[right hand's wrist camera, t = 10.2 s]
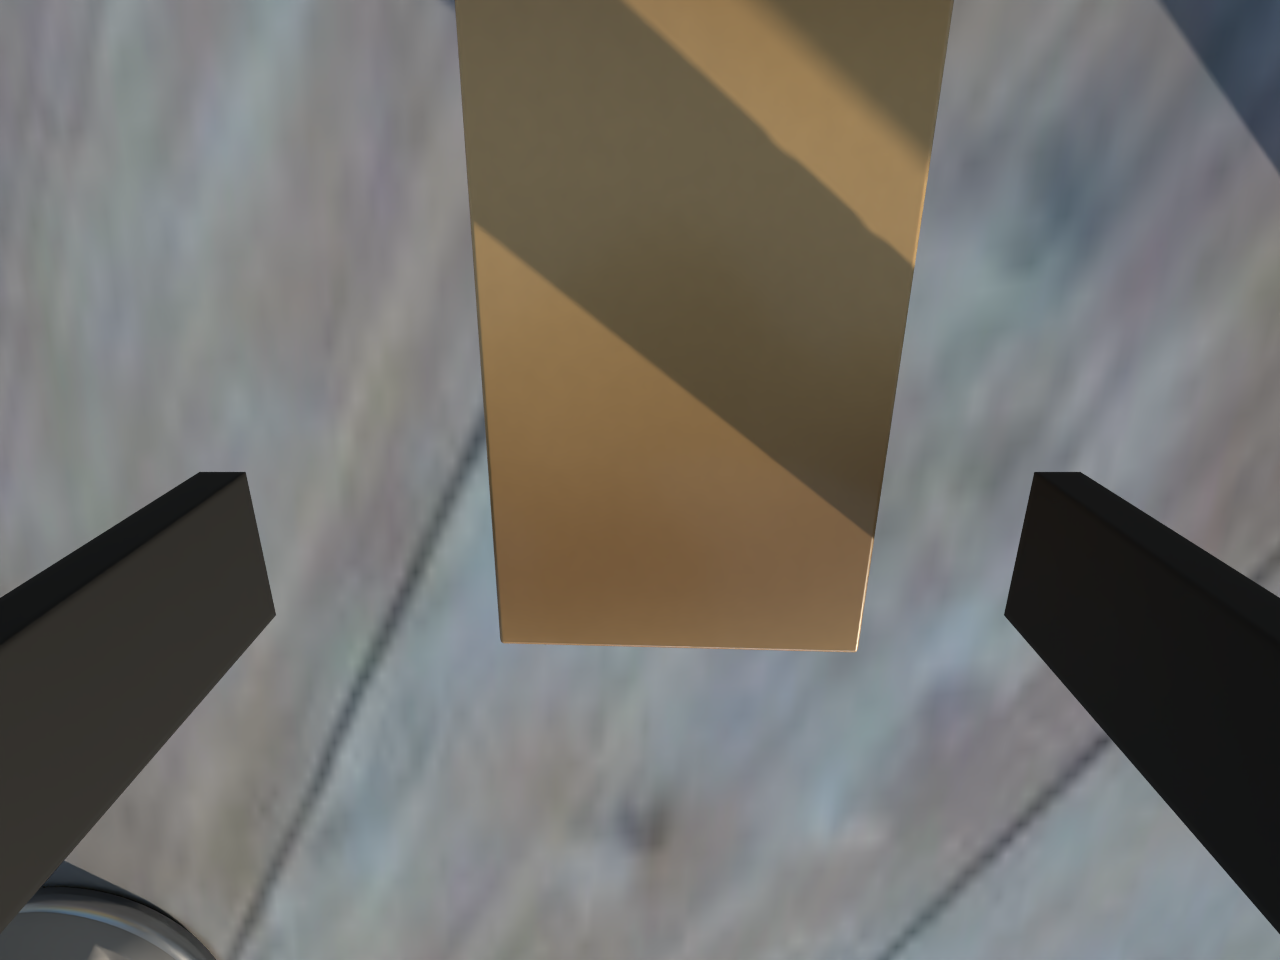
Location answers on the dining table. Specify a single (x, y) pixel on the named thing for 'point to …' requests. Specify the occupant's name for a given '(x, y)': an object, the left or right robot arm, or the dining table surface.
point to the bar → (692, 305)
